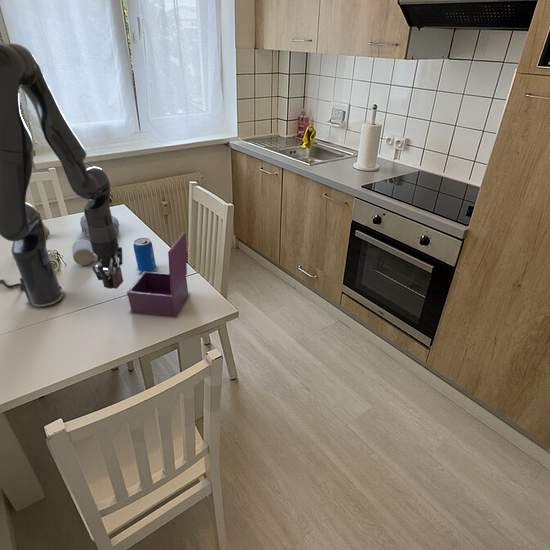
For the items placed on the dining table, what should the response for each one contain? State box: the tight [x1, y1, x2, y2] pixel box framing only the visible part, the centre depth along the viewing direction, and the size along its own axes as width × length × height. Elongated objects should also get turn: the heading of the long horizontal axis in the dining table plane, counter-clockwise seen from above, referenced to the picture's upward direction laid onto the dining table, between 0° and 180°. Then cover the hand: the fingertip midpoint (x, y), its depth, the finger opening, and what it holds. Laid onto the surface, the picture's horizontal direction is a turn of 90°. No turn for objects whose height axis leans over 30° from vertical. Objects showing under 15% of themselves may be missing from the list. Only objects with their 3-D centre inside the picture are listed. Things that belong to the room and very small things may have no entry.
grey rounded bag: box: [79, 214, 120, 238], centre depth 171 cm, size 15×8×20 cm
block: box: [101, 266, 124, 290], centre depth 125 cm, size 4×4×5 cm
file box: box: [126, 271, 189, 318], centre depth 127 cm, size 15×13×8 cm
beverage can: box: [132, 237, 157, 274], centre depth 144 cm, size 6×6×12 cm
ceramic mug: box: [71, 239, 97, 266], centre depth 150 cm, size 11×8×8 cm
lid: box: [167, 231, 188, 296], centre depth 120 cm, size 15×13×1 cm
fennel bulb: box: [35, 209, 50, 238], centre depth 165 cm, size 6×5×12 cm
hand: (113, 283), depth 126 cm, fingers closed on block, 4 cm apart
